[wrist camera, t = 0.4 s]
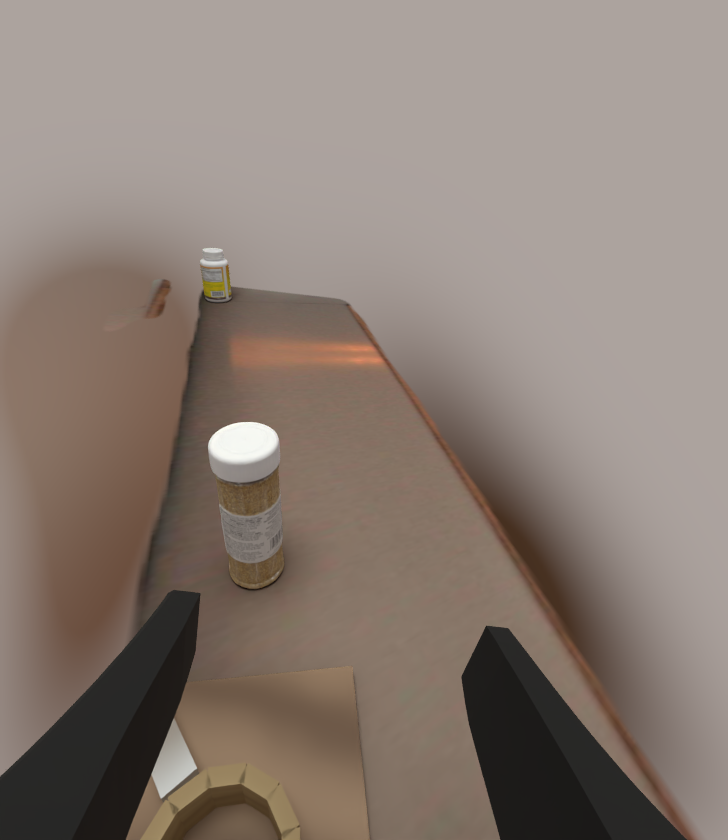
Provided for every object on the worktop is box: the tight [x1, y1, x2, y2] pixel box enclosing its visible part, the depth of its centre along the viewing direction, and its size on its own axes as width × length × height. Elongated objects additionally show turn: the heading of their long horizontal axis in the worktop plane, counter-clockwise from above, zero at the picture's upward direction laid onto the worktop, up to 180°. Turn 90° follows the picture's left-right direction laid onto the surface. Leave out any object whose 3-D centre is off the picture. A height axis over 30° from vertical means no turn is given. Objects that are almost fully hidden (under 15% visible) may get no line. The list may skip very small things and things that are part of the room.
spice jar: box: [208, 422, 284, 589], centre depth 31 cm, size 5×5×14 cm
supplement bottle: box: [200, 248, 232, 302], centre depth 87 cm, size 6×6×10 cm
